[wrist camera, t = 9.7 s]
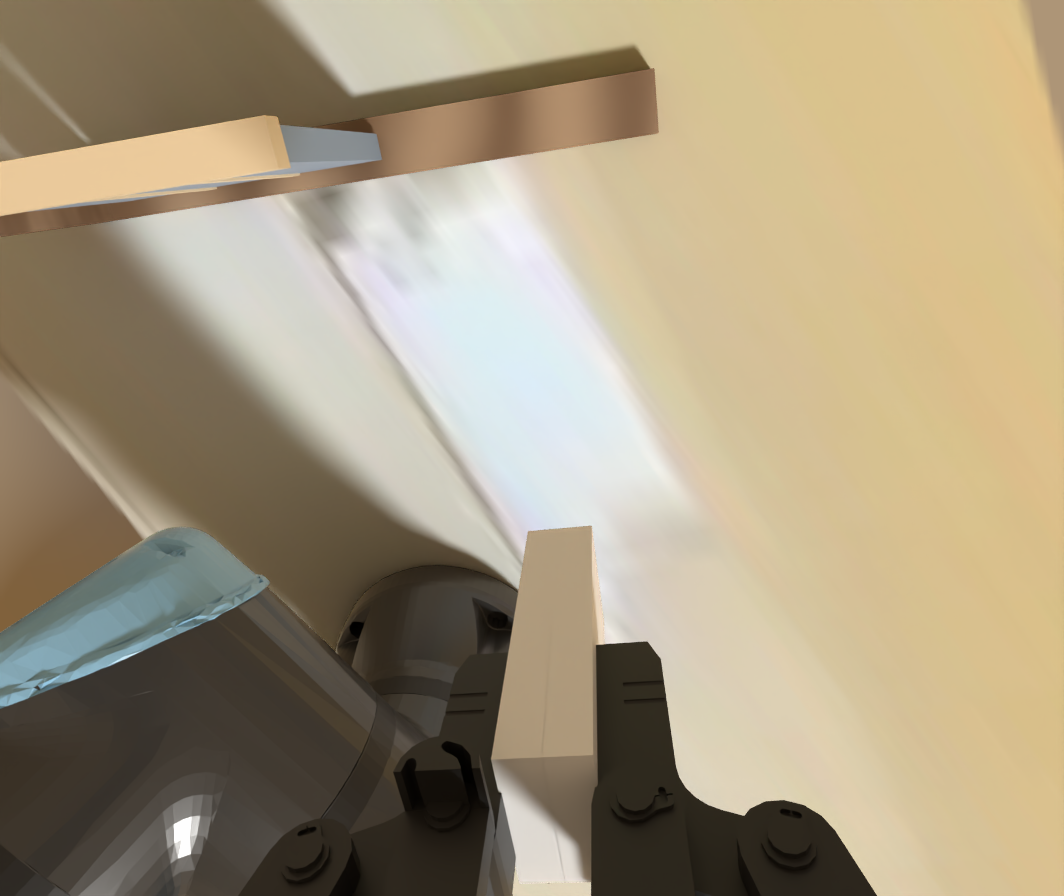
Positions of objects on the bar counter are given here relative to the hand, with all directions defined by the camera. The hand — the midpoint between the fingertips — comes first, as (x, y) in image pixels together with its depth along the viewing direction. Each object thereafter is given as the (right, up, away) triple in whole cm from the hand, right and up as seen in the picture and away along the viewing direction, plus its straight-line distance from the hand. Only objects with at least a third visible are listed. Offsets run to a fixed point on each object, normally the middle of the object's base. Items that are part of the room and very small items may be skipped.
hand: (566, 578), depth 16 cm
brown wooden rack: (-10, +19, +19) cm, 29 cm away
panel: (-15, +17, +19) cm, 30 cm away
